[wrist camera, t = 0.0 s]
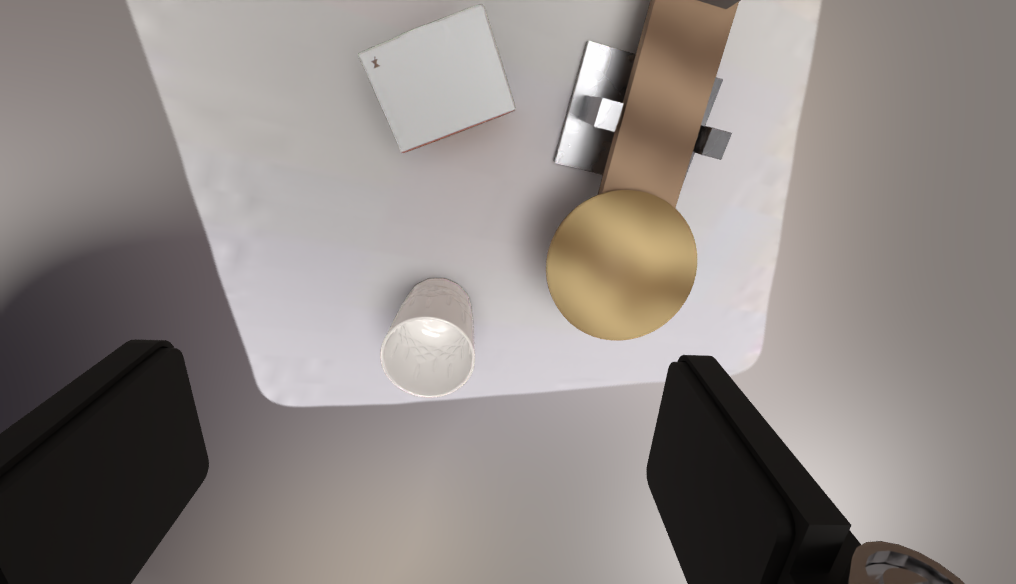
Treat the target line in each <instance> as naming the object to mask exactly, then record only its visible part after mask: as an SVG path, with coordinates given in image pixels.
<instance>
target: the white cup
mask: <svg viewBox="0 0 1016 584" xmlns="http://www.w3.org/2000/svg"><path fill="white" fill-rule="evenodd" d="M380 359H381V364H382V368H383V370H384V372H385V374H386V376H387V377H388V378H389V380H390V381H391V382H392V383H393V384H394V385H395V386H397V387H398V388H399V389H401V390H403V391H404V392H406V393H409V394H411V395H415V396H419V397H427V398H432V397H440V396H444V395H447V394H450V393H452V392H454V391H456V390H458V389H459V388H460V387H462V386H463V385H464V384H465V383H466V382H467V380H468V379H469V377H470V376H471V374H472V371H473V369H474V364H475V347H474V326H473V316H472V307H471V304H470V300H469V297H468V294H467V293H466V292H465V291H464V290H463V289H462V288H461V287H460V286H459V285H458V284H457V283H454V282H452V281H449V280H447V279H445V278H436V279H427V280H425V281H423V282H421V283H419V284H417V285H415V287H414V288H413V289H412V290H411V292H410V293H409V294H408V296H407V297H406V300H405V301H404V302H403V304H402V306H401V307H400V309H399V311H398V313H397V315H396V316H395V319H394V321H393V323H392V325H391V327H390V329H389V331H388V333H387V335H386V337H385V339H384V341H383V343H382V346H381V352H380Z"/></svg>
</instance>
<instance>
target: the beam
mask: <svg viewBox="0 0 1016 584" xmlns="http://www.w3.org/2000/svg"><path fill="white" fill-rule="evenodd" d="M739 1H740V0H651V1H650V4H649V8H648V12H647V15H646V19H645V23H644V26H643V30H642V34H641V37H640V41H639V45H638V49H637V52H636V56H635V60H634V63H633V67H632V71H631V74H630V78H629V82H628V85H627V89H626V93H625V96H624V100H623V103H624V104H623V107H622V110H621V113H620V117H619V120H618V123H617V126H616V129H615V133H614V137H613V140H612V144H611V148H610V151H609V155H608V159H607V163H606V166H605V170H604V174H603V177H602V181H601V185H600V188H599V192H598V195H596V196H594V197H592V198H590V199H588V200H586V201H584V202H583V203H581V204H580V205H579V206H577V207H576V208H575V209H574V210H573V211H571V212H570V213H569V214H568V215H567V216H566V218H565V219H564V220H563V221H562V222H561V224H560V226H559V227H558V229H557V230H556V232H555V234H554V236H553V238H552V240H551V243H550V246H549V250H548V255H547V260H546V277H547V283H548V288H549V291H550V294H551V296H552V299H553V300H554V302H555V304H556V306H557V308H558V309H559V310H560V312H561V313H562V315H563V316H564V317H565V318H566V319H567V320H568V321H569V322H570V323H571V324H572V325H574V326H575V327H576V328H577V329H579V330H581V331H582V332H584V333H586V334H589V335H591V336H593V337H597V338H600V339H606V340H628V339H634V338H638V337H641V336H644V335H646V334H649V333H651V332H653V331H655V330H656V329H658V328H660V327H661V326H663V325H664V324H665V323H667V322H668V321H669V320H670V319H671V318H672V317H673V316H674V315H675V314H676V313H677V312H678V311H679V310H680V308H681V307H682V305H683V304H684V303H685V301H686V299H687V297H688V295H689V294H690V291H691V289H692V286H693V284H694V280H695V276H696V270H697V250H696V244H695V240H694V237H693V234H692V232H691V229H690V227H689V225H688V224H687V222H686V220H685V219H684V218H683V216H682V215H681V214H680V213H679V212H678V211H677V210H676V209H675V207H676V204H677V201H678V198H679V194H680V191H681V188H682V185H683V181H684V178H685V175H686V172H687V168H688V165H689V162H690V159H691V155H692V152H693V149H694V146H695V143H696V140H697V138H698V133H699V130H700V126H701V123H702V120H703V117H704V113H705V110H706V107H707V104H708V100H709V97H710V94H711V91H712V87H713V84H714V81H715V78H716V74H717V71H718V68H719V65H720V62H721V58H722V55H723V52H724V49H725V45H726V42H727V39H728V36H729V32H730V29H731V26H732V23H733V19H734V16H735V13H736V10H737V6H738V3H739Z"/></svg>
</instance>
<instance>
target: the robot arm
mask: <svg viewBox="0 0 1016 584" xmlns="http://www.w3.org/2000/svg"><path fill="white" fill-rule="evenodd" d="M208 467H209V460H208V455H207V451H206V447H205V443H204V439H203V435H202V431H201V427H200V423H199V419H198V415H197V410H196V406H195V402H194V398H193V394H192V390H191V386H190V382H189V378H188V374H187V370H186V366H185V362H184V358H183V355H182V352H181V351H180V350H178V349H176V348H174V346H173V345H172V344H171V343H170V342H168V341H166V340H165V341H164V340H130V341H128V342H126V343H125V344H123V345H122V346H121V347H119V348H118V349H116V350H115V351H114V352H112V353H111V354H110V355H108V356H107V357H105V358H104V359H103V360H101V361H100V362H98V363H97V364H96V365H94V366H93V367H92V368H90V369H89V370H87V371H86V372H85V373H83V374H82V375H81V376H79V377H78V378H76V379H75V380H74V381H72V382H71V383H70V384H68V385H67V386H65V387H64V388H63V389H61V390H60V391H58V392H57V393H56V394H54V395H53V396H52V397H51V398H49V399H47V400H46V401H45V402H43V403H42V404H41V405H39V406H38V407H36V408H35V409H34V410H33V411H31V412H30V413H28V414H27V415H25V416H24V417H23V418H21V419H20V420H19V421H17V422H16V423H14V424H13V425H12V426H10V427H9V428H8V429H6V430H5V431H3V432H2V433H1V434H0V584H131V583H132V581H133V580H134V579H135V577H136V576H137V574H138V573H139V571H140V570H141V569H142V567H143V566H144V565H145V563H146V562H147V560H148V559H149V557H150V556H151V554H152V553H153V552H154V550H155V549H156V547H157V546H158V545H159V543H160V542H161V540H162V539H163V538H164V536H165V535H166V533H167V532H168V531H169V529H170V528H171V526H172V525H173V524H174V522H175V521H176V519H177V518H178V516H179V515H180V514H181V512H182V511H183V509H184V508H185V507H186V505H187V503H188V502H189V501H190V499H191V498H192V497H193V495H194V494H195V492H196V491H197V489H198V488H199V487H200V485H201V484H202V483H203V481H204V479H205V477H206V475H207V472H208ZM647 481H648V485H649V488H650V490H651V493H652V495H653V498H654V500H655V503H656V505H657V508H658V510H659V513H660V515H661V518H662V521H663V523H664V525H665V528H666V531H667V533H668V536H669V538H670V540H671V543H672V546H673V548H674V551H675V553H676V556H677V558H678V561H679V563H680V566H681V568H682V571H683V573H684V576H685V578H686V581H687V583H688V584H965V583H964V582H963V581H962V580H961V579H960V578H958V577H957V576H956V575H954V574H953V573H952V572H950V571H949V570H948V569H946V568H945V567H943V566H942V565H941V564H939V563H938V562H936V561H934V560H932V559H930V558H928V557H927V556H925V555H923V554H921V553H919V552H917V551H915V550H912V549H909V548H907V547H904V546H901V545H899V544H893V543H888V542H883V541H876V542H866V543H864V544H862V545H861V544H860V543H859V541H858V540H857V539H856V538H855V536H854V535H853V534H852V533H851V531H850V530H849V529H850V527H851V524H850V523H849V522H848V520H847V519H846V518H845V517H844V516H843V515H842V513H841V512H840V511H839V509H838V508H837V507H836V506H835V505H834V503H833V502H832V501H831V500H830V498H829V497H828V496H827V495H826V494H825V492H824V491H823V490H822V489H821V488H820V486H819V485H818V484H817V483H816V481H815V480H814V479H813V478H812V476H811V475H810V474H809V473H808V472H807V470H806V469H805V468H804V467H803V465H802V464H801V463H800V462H799V461H798V459H797V458H796V457H795V456H794V455H793V453H792V452H791V451H790V450H789V448H788V447H787V446H786V445H785V444H784V442H783V441H782V440H781V439H780V437H779V436H778V435H777V434H776V432H775V431H774V430H773V429H772V428H771V426H770V425H769V424H768V423H767V422H766V420H765V419H764V418H763V417H762V416H761V414H760V413H759V412H758V410H757V409H756V408H755V407H754V406H753V404H752V403H751V402H750V401H749V399H748V398H747V397H746V396H745V395H744V393H743V392H742V391H741V390H740V389H739V388H738V386H737V385H736V384H735V382H734V381H733V380H732V379H731V377H730V376H729V375H728V374H727V373H726V371H725V370H724V369H723V368H722V366H721V365H720V364H719V363H718V362H717V360H716V359H715V358H714V357H712V356H699V355H682V356H681V357H680V358H679V359H678V362H672V363H671V364H670V366H669V369H668V373H667V377H666V382H665V386H664V391H663V395H662V400H661V405H660V409H659V414H658V418H657V423H656V427H655V432H654V436H653V441H652V445H651V450H650V454H649V459H648V463H647Z"/></svg>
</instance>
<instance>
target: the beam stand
mask: <svg viewBox="0 0 1016 584" xmlns="http://www.w3.org/2000/svg"><path fill="white" fill-rule="evenodd" d="M635 56H636V54H633V53H629V52H626V51H623V50H619V49H616V48H612V47H609V46H605V45H602V44H598V43H595V42H591V41H587V42H586V46H585V50H584V53H583V57H582V60H581V64H580V68H579V71H578V75H577V78H576V82H575V86H574V89H573V93H572V96H571V100H570V104H569V107H568V111H567V114H566V118H565V122H564V125H563V129H562V132H561V136H560V140H559V143H558V147H557V151H556V154H555V158H554V162H555V163H558V164H562V165H566V166H570V167H574V168H578V169H582V170H586V171H590V172H594V173H598V174H602V175H603V174H604V170H605V166H606V163H607V159H608V155H609V151H610V148H611V144H612V140H613V137H614V133H615V129H616V126H617V123H618V120H619V117H620V113H621V110H622V107H623V104H624V103H623V100H624V96H625V93H626V89H627V85H628V82H629V78H630V74H631V71H632V67H633V63H634V60H635ZM722 81H723V79H720V78H715V81H714V84H713V87H712V91H711V94H710V97H709V100H708V104H707V107H706V110H705V113H704V117H703V120H702V123H701V126H700V130H699V133H698V138H697V140H696V143H695V146H694V149H693V152H692V155H691V159H690V162H689V165H688V168H687V172H688V169H689V166H690V164H691V161H692V159H693V156H694V153H698V154H701V155H705V156H708V157H712V158H716V159H720V160H721V159H722V156H723V154H724V151H725V149H726V147H727V144H728V142H729V139H730V137H731V134H732V133H730V132H726V131H722V130H719V129H715V128H711V127H707V126H705V125H706V122H707V120H708V117H709V115H710V112H711V109H712V107H713V104H714V102H715V99H716V96H717V94H718V91H719V89H720V86H721V84H722ZM687 172H686V174H687ZM685 177H686V175H685ZM684 179H685V178H684ZM683 182H684V181H683Z"/></svg>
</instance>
